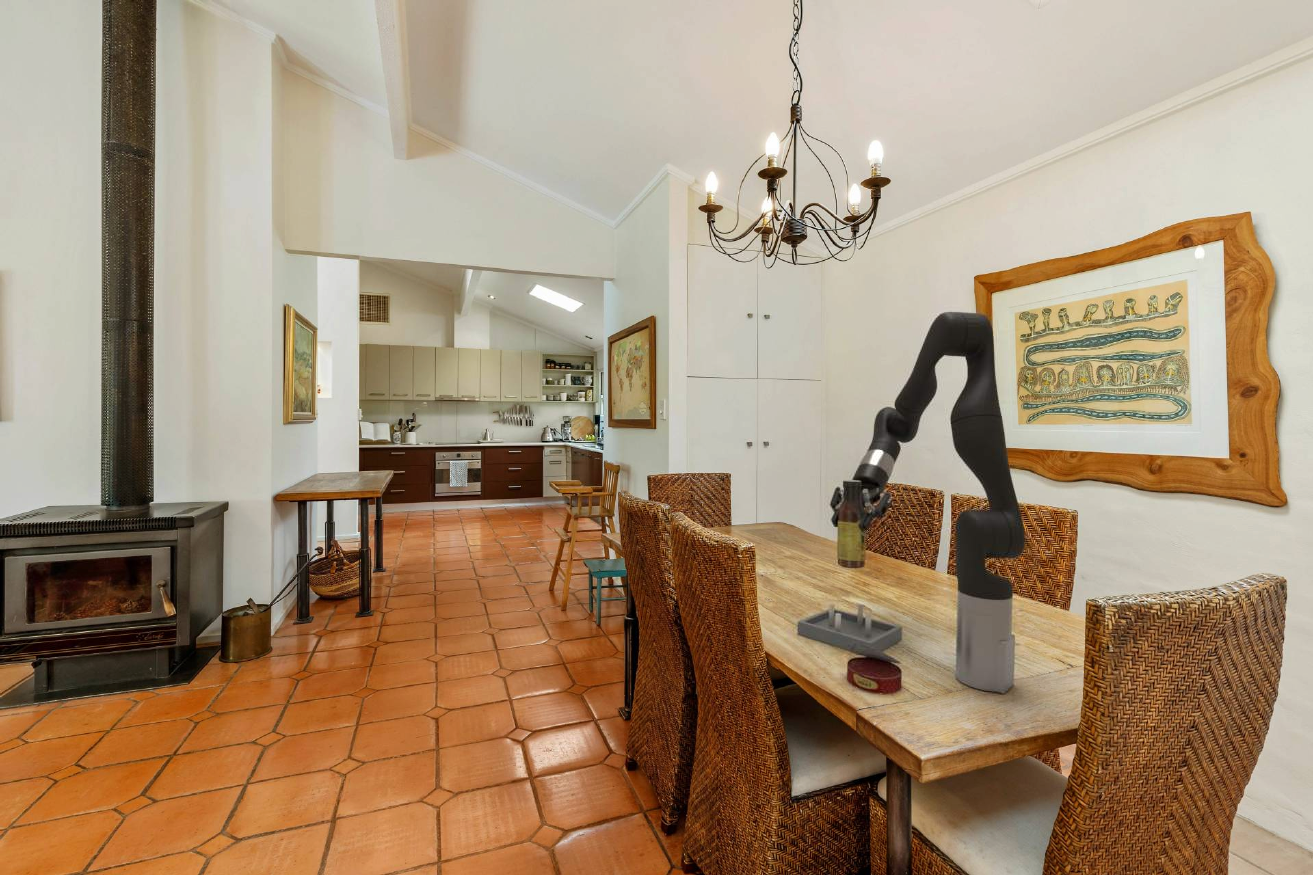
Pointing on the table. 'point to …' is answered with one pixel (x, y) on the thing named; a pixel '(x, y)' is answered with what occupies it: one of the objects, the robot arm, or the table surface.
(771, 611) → the table surface
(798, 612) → the table surface
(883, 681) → the canned food
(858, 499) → the sauce bottle
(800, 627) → the pin tray
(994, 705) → the table surface
